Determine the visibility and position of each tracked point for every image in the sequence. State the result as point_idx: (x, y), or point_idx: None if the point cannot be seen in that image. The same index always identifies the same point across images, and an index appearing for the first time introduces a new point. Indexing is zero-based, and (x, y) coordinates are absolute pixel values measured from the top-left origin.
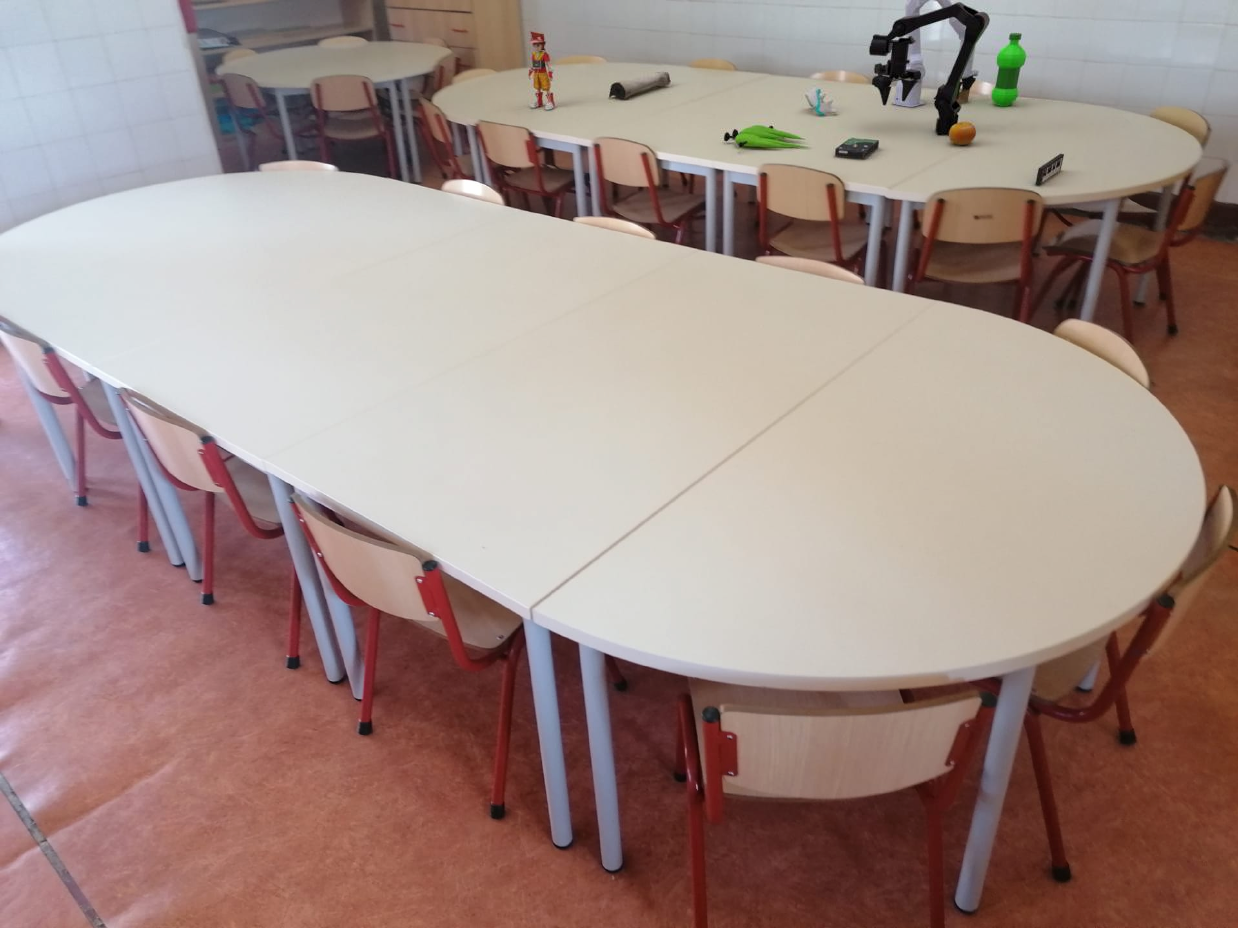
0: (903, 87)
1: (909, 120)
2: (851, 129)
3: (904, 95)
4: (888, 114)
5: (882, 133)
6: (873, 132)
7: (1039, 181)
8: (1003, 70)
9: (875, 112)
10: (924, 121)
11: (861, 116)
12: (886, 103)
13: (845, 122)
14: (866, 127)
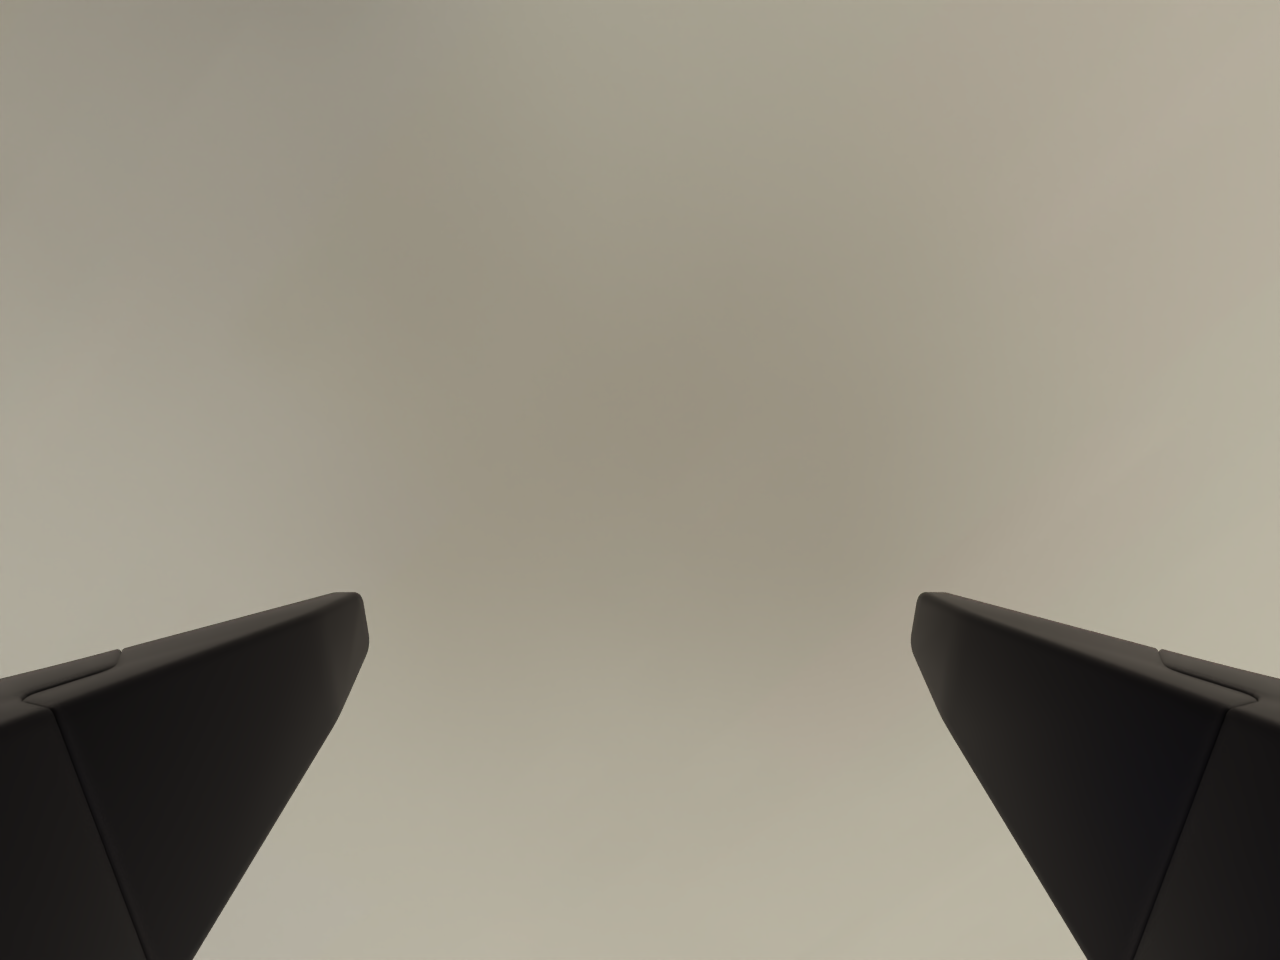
0: (183, 932)
1: (217, 544)
2: None
3: (297, 684)
4: (275, 840)
5: (937, 313)
6: (973, 428)
7: None
8: None
9: (342, 948)
10: (66, 388)
11: (554, 932)
12: (939, 606)
13: (839, 882)
14: (844, 637)
